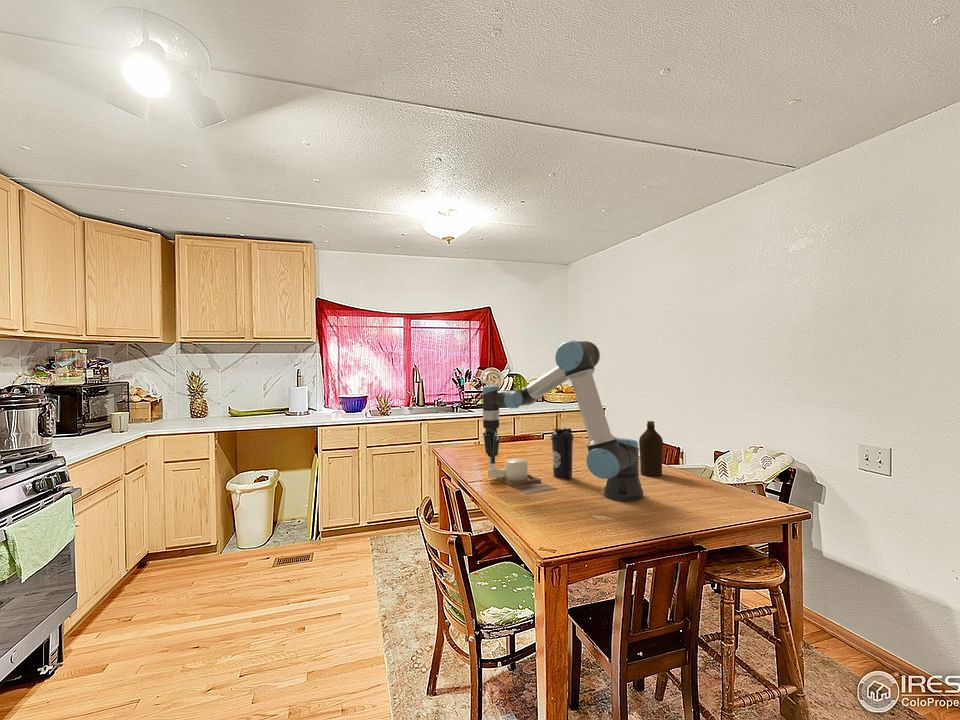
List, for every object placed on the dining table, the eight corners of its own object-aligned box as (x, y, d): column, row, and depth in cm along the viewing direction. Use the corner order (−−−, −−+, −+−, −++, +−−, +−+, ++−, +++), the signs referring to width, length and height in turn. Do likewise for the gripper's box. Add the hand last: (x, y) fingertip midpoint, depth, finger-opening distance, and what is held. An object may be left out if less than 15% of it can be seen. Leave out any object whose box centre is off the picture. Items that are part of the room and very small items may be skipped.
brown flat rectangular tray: (558, 491, 198) (557, 485, 198) (527, 496, 191) (527, 491, 191) (523, 476, 222) (523, 471, 222) (495, 481, 215) (495, 475, 215)
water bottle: (547, 476, 222) (546, 427, 221) (565, 474, 226) (564, 426, 226) (559, 482, 212) (559, 430, 212) (578, 479, 217) (577, 429, 216)
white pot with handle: (526, 478, 216) (526, 458, 216) (528, 484, 206) (528, 463, 206) (488, 478, 217) (488, 458, 217) (488, 484, 207) (487, 463, 207)
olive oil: (666, 477, 218) (665, 423, 217) (642, 477, 219) (641, 423, 218) (659, 471, 228) (659, 419, 228) (637, 471, 229) (636, 419, 229)
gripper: (505, 420, 214) (506, 472, 215) (491, 416, 226) (492, 466, 226) (490, 421, 211) (491, 474, 211) (477, 418, 223) (478, 468, 223)
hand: (491, 470), depth 219 cm, fingers closed
